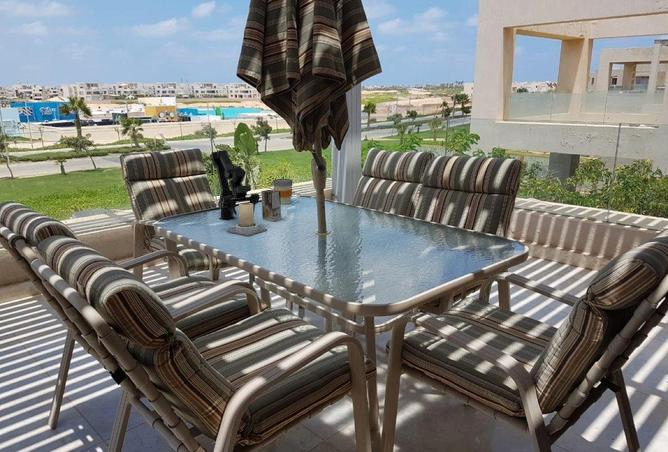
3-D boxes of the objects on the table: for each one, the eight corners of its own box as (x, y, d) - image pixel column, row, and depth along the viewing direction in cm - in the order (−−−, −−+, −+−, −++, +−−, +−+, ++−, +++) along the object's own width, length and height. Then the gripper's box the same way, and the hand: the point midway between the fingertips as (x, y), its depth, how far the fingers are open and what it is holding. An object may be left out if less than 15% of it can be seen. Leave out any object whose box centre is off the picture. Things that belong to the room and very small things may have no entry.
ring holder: (246, 226, 261) (246, 220, 260) (267, 230, 254) (266, 224, 253) (227, 232, 250) (226, 225, 249) (247, 236, 242) (247, 229, 241)
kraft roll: (242, 227, 255) (241, 202, 252) (255, 228, 255) (254, 202, 251) (238, 231, 248) (237, 205, 245) (252, 231, 248) (251, 205, 245)
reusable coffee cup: (285, 206, 312) (284, 182, 308) (269, 204, 318) (268, 180, 314) (296, 202, 322) (296, 179, 319) (281, 200, 329) (280, 178, 325)
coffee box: (281, 220, 276) (280, 191, 273) (272, 222, 272) (271, 192, 268) (270, 217, 282) (270, 189, 279) (261, 219, 278) (261, 190, 274)
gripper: (222, 180, 247) (229, 206, 241) (258, 177, 256) (266, 203, 249) (218, 193, 256) (225, 219, 249) (253, 190, 265) (261, 215, 258)
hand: (245, 213), depth 251 cm, fingers open, 9 cm apart
